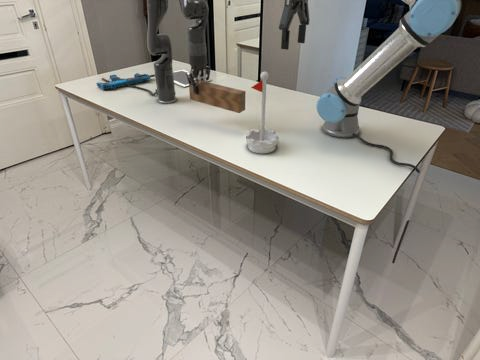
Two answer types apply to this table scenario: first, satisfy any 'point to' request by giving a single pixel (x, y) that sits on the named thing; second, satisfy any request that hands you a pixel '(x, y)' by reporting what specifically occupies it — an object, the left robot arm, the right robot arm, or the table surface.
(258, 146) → the flag stand
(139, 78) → the submachine gun
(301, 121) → the table surface
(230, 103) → the bar
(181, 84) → the tablet
